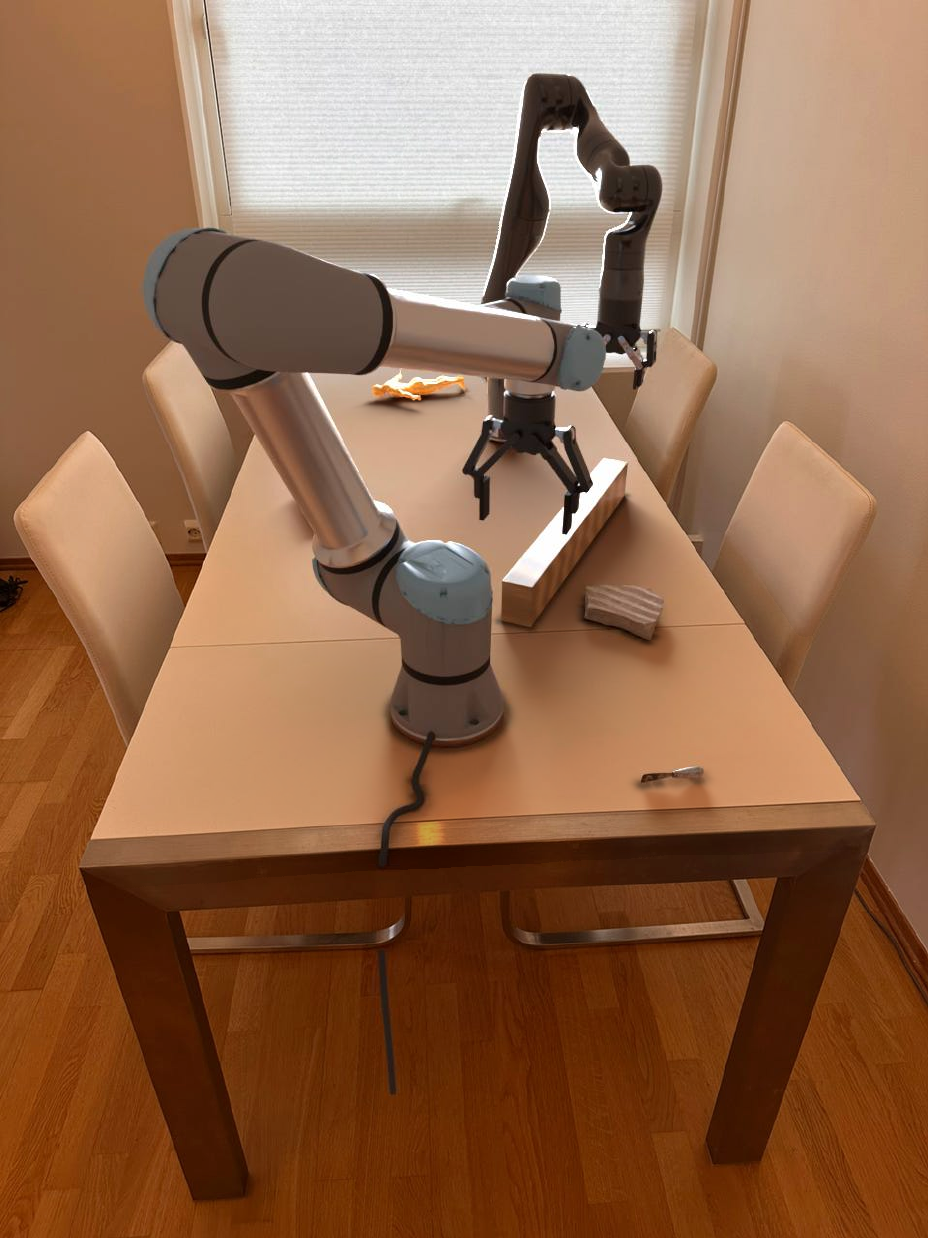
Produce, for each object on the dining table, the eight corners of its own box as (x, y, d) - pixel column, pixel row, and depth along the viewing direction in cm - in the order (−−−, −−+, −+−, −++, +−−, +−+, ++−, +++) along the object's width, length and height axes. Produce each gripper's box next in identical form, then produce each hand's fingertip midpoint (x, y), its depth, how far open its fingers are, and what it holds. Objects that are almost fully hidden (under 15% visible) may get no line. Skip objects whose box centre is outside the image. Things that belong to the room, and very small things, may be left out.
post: (530, 627, 139) (532, 587, 135) (500, 620, 141) (501, 580, 137) (624, 495, 181) (628, 461, 177) (601, 491, 183) (603, 457, 179)
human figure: (365, 397, 234) (364, 383, 232) (408, 376, 248) (408, 362, 246) (428, 412, 226) (427, 396, 223) (468, 389, 240) (468, 374, 237)
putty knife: (703, 777, 109) (705, 767, 109) (642, 788, 108) (644, 777, 107) (700, 772, 110) (702, 762, 109) (639, 782, 109) (640, 771, 108)
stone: (668, 604, 144) (670, 590, 143) (652, 641, 135) (653, 627, 134) (591, 589, 149) (592, 576, 147) (570, 625, 139) (570, 611, 138)
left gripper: (621, 392, 128) (608, 526, 139) (459, 374, 136) (460, 502, 147) (608, 408, 122) (596, 547, 133) (440, 388, 130) (442, 520, 141)
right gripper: (666, 292, 155) (656, 384, 164) (587, 285, 160) (582, 375, 169) (656, 301, 149) (646, 396, 158) (574, 294, 154) (569, 386, 163)
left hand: (524, 524), depth 140 cm, fingers open, 13 cm apart
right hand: (613, 385), depth 163 cm, fingers open, 8 cm apart
